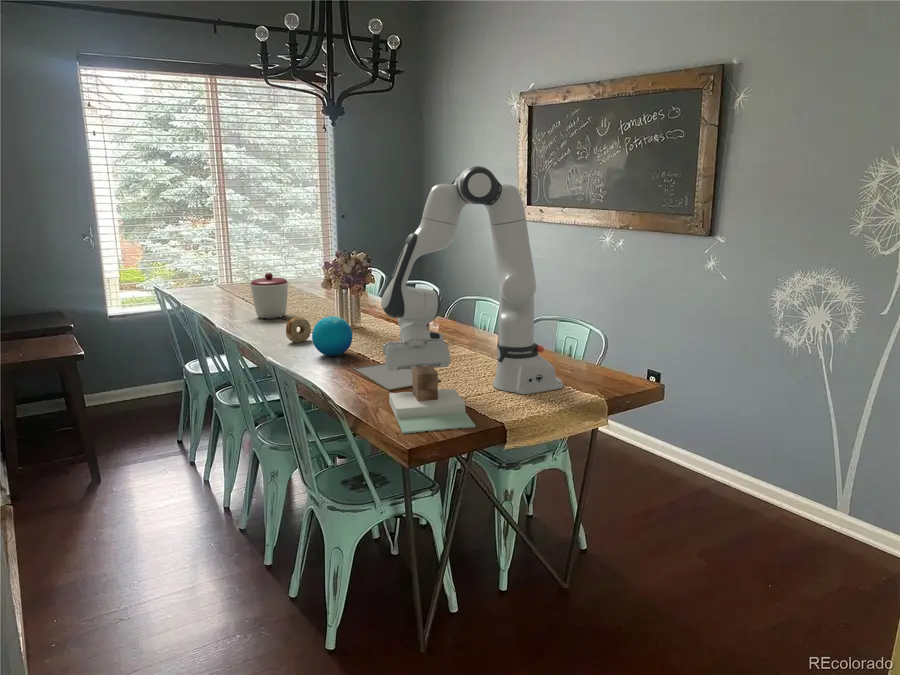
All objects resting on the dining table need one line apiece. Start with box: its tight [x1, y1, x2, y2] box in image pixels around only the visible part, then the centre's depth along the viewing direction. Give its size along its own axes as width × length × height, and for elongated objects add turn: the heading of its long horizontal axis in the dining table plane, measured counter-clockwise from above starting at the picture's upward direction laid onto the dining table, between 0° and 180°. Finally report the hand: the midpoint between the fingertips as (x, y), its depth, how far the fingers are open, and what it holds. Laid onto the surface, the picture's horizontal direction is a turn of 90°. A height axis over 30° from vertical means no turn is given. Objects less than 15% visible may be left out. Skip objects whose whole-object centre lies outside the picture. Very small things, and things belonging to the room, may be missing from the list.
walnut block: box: [412, 366, 439, 401], centre depth 200 cm, size 6×8×8 cm
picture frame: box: [352, 362, 442, 392], centre depth 231 cm, size 19×1×28 cm
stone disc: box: [285, 316, 312, 343], centre depth 274 cm, size 10×4×10 cm, turn 131°
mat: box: [396, 412, 476, 435], centre depth 187 cm, size 20×10×1 cm, turn 103°
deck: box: [388, 388, 466, 420], centre depth 199 cm, size 20×14×3 cm
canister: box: [248, 272, 290, 319], centre depth 318 cm, size 18×18×21 cm
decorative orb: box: [311, 315, 353, 357], centre depth 253 cm, size 15×15×15 cm
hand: (421, 379), depth 206 cm, fingers closed
